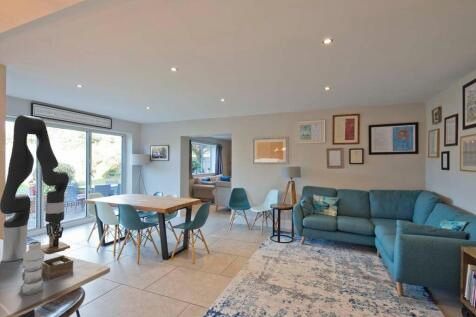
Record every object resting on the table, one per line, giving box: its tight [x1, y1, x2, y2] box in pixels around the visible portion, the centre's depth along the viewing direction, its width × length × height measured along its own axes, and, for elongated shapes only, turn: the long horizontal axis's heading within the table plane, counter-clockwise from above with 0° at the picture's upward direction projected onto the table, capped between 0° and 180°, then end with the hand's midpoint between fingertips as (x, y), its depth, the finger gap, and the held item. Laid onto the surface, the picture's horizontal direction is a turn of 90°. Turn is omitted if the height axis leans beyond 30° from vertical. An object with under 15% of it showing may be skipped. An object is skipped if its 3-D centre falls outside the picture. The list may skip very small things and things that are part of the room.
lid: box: [40, 236, 71, 255], centre depth 118 cm, size 11×10×7 cm
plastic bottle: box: [21, 241, 45, 296], centre depth 94 cm, size 6×7×20 cm
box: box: [42, 255, 74, 280], centre depth 110 cm, size 10×9×6 cm
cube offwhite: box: [52, 260, 64, 266], centre depth 112 cm, size 4×4×4 cm
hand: (53, 245), depth 118 cm, fingers closed on lid, 3 cm apart
